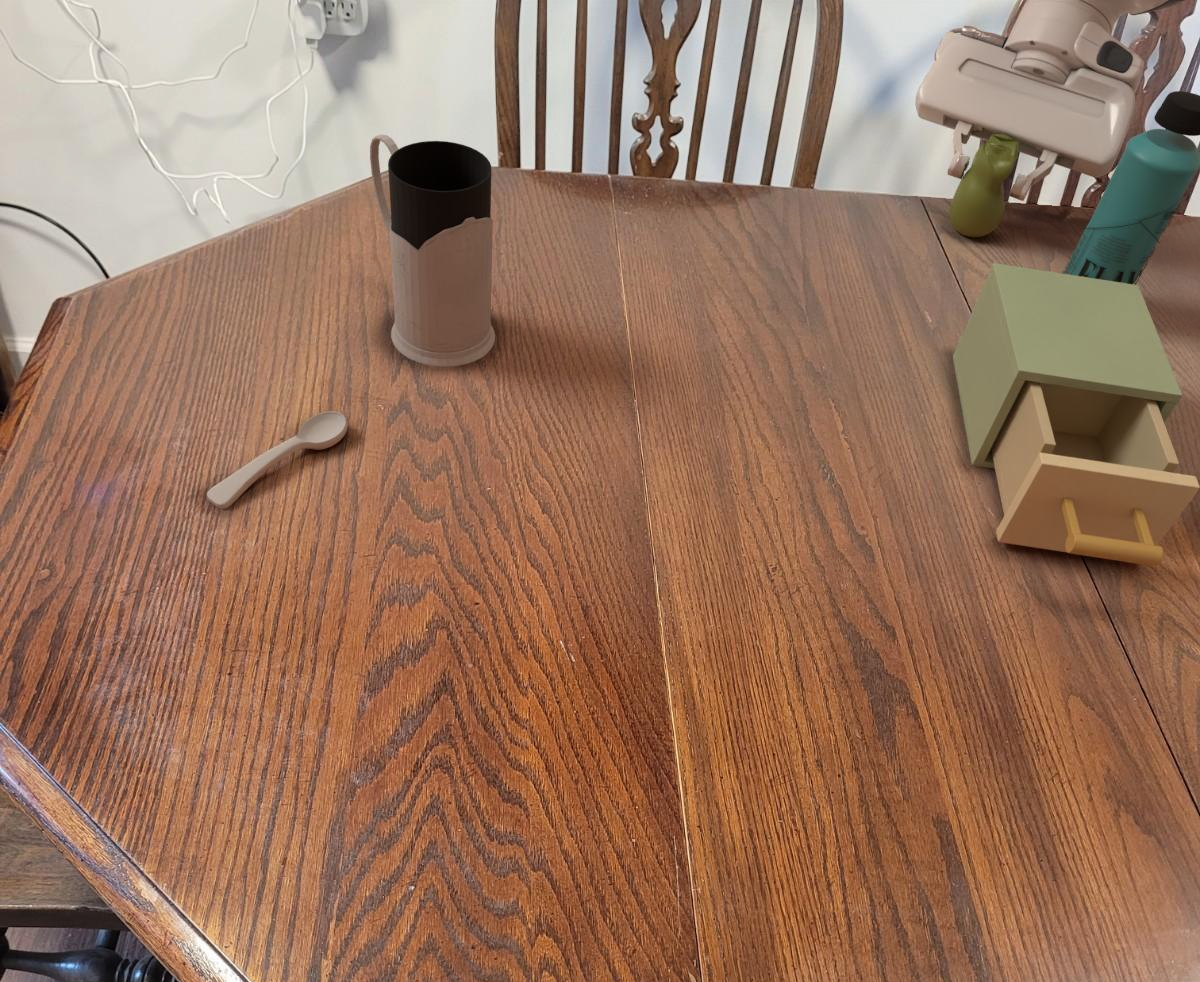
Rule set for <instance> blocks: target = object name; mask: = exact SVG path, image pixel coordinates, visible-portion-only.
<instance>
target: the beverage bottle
mask: <svg viewBox="0 0 1200 982" xmlns="http://www.w3.org/2000/svg"><path fill="white" fill-rule="evenodd" d="M1154 121H1155V122H1156V123H1157V125H1159V126H1160V127H1162V128H1153V129H1152V128H1151V129H1149V130H1146V131H1143V132H1141V133H1139V134H1136V135H1134V136H1133V137H1131V138H1129V139H1128V141H1127V143H1126V145H1125V149H1124V151H1123V153H1122V154H1121V157H1120V159H1119V161H1118V163H1117V165H1116V167H1115V169H1114V170H1113V173H1112V175H1111V177H1110V179H1109V181H1108V184H1107V185H1106V187H1105V189H1104V191H1103V193H1102V196H1101V197H1100V199H1099V201H1098V204H1097V206H1096V208H1095V210H1094V212H1093V214H1092V216H1091V218H1090V220H1089V222H1088V224H1087V225H1086V227H1085V228H1083V232H1082V234H1081V236H1080V237H1079V240H1078V242H1077V244H1076V245H1075V248H1074V250H1073V252H1072V254H1070V255H1069V257H1068V260H1067V261H1066V264H1065V266H1064V269H1062V271H1061V273H1062V274H1068V275H1075V276H1081V277H1088V278H1094V279H1101V280H1107V281H1114V282H1121V283H1127V284H1134V285H1137V283H1138V281H1139V280H1140V279H1141V276H1142V274H1143V272H1144V271H1145V269H1146V267H1147V265H1148V263H1149V261H1150V258H1151V257H1152V256H1153V255H1154V253H1155V252H1156V245H1157V244H1160V241H1159V240H1160V238H1163V237H1164V236H1163V234H1164V233H1165V231H1166V230H1167V227H1169V226H1170V225H1171V222H1172V220H1173V219H1174V217H1175V215H1176V213H1177V211H1178V210H1179V208H1180V206H1181V201H1182V199H1183V198H1184V197H1185V196H1186V195H1187V194H1188V192H1186V191H1187V189H1188V187H1189V185H1190V183H1191V182H1192V180H1193V178H1194V176H1195V175H1196V173H1197V172H1198V171H1199V169H1200V151H1199V149H1198V147H1197V145H1196V143H1195V142H1194V141H1193V140H1192V139H1191V138H1189V137H1197V136H1200V95H1199V94H1197V93H1193V92H1189V91H1181V90H1175V91H1171V92H1169V93H1168V94H1166V97H1165V98H1164V100H1163V101H1162V104H1161V105H1160V107H1159V108H1158V109H1157V111H1156V113H1155V114H1154ZM1188 136H1189V137H1188ZM1161 236H1162V237H1161Z"/></svg>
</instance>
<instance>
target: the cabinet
mask: <svg viewBox="0 0 1200 982" xmlns="http://www.w3.org/2000/svg"><path fill="white" fill-rule="evenodd" d="M952 361H953V366H954V371H955V377H956V383H957V389H958V394H959V400H960V406H961V411H962V417H963V423H964V428H965V433H966V438H967V445H968V451H969V457H970V462H971V466H974V467H980V468H986V469H987V468H988V469H993V470H995V466H994V461H993V456H992V451H991V447H992V445H993V443H994V441H995V439H996V437H997V435H998V433H999V431H1000V429H1001V427H1002V425H1003V423H1004V421H1005V419H1006V417H1007V415H1008V413H1009V411H1010V409H1011V407H1012V405H1013V404H1014V402H1015V400H1016V398H1017V396H1018V394H1019V392H1020V390H1021V388H1022V386H1023V384H1024V382H1025V380H1027V381H1034V382H1040V383H1047V384H1053V385H1060V386H1066V387H1073V388H1079V389H1086V390H1092V391H1099V392H1105V393H1112V394H1118V395H1125V396H1131V397H1138V398H1144V399H1151V400H1156V402H1157V405H1158V408H1159V410H1160V413H1161V416H1162V418H1163V421H1164V424H1165V423H1166V421H1167V420H1168V418H1169V417H1170V415H1171V414H1172V412H1173V411H1174V409H1175V408H1176V406H1177V405H1178V403H1179V402H1180V401H1181V399H1182V397H1183V393H1182V391H1181V388H1180V385H1179V383H1178V380H1177V378H1176V376H1175V373H1174V371H1173V367H1172V365H1171V363H1170V361H1169V358H1168V355H1167V353H1166V350H1165V348H1164V345H1163V343H1162V340H1161V338H1160V335H1159V332H1158V330H1157V327H1156V325H1155V323H1154V320H1153V318H1152V316H1151V313H1150V310H1149V308H1148V305H1147V303H1146V301H1145V298H1144V295H1143V293H1142V290H1141V288H1140V286H1139V284H1136V285H1135V283H1134V284H1127V283H1121V282H1114V281H1107V280H1101V279H1094V278H1088V277H1081V276H1075V275H1068V274H1063V272H1056V271H1055V272H1054V271H1047V270H1042V269H1035V268H1028V267H1022V266H1015V265H1009V264H1003V263H997V262H993V263H992V264H991V267H990V269H989V272H988V274H987V276H986V279H985V281H984V283H983V286H982V288H981V290H980V292H979V295H978V296H977V300H976V302H975V304H974V306H973V309H972V311H971V313H970V315H969V318H968V320H967V323H966V325H965V327H964V329H963V332H962V334H961V335H960V339H959V341H958V343H957V346H956V348H955V351H954V352H953V355H952Z"/></svg>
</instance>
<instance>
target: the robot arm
mask: <svg viewBox="0 0 1200 982" xmlns="http://www.w3.org/2000/svg"><path fill="white" fill-rule="evenodd" d="M1185 1H1186V0H1025V2H1024V5H1022V6H1023V7H1022V8H1021V10H1020V12H1019V15H1018V17H1017V18H1016V20H1015V22H1014V24H1013V27H1012V28H1011V31H1010V32H1009V35H1008V36H1007V37H1006V36H1004V35H1000V34H997V33H993V32H989V31H984V30H980V29H978V28H977V27H975V26H972V25H964V26H962V28H961V27H958V28H953V29H951V30H949V31H947V32H946V33H945V34H944V35H943V36H942V38H941V39H940V42H939V44H938V45H937V48H936V50H935V52H934V62H933V64H932V65H931V67H930V68H929V70H928V71H927V73H926V75H925V76H924V78H923V80H922V81H921V83H920V85H919V87H918V89H917V91H916V94H915V100H914V103H915V104H914V105H915V110H916V114H917V116H918V118H919V119H921V120H924V121H927V122H930V123H933V124H935V125H939V126H941V127H945V128H948V129H950V130H953V134H952V135H953V136H952V146H953V156H952V157H953V158H952V160H951V161H950V163H949V166H948V169H947V173H946V174H947V175H948V176H950V177H954V178H957V179H958V180H962V178H963V176H964V175H965V171H966V172H967V170H968V168H969V165H970V159H971V156H969V155H966V154H964V153H963V145H967V144H968V141H969V140H970V138H971V137H974V138H977V139H979V140H982V141H986V142H988V140H989V139H990V137H991V136H992V135H993V134H1005V135H1007V136H1008V137H1010V138H1011V139H1013V141H1018V148H1019V150H1018V153H1021V154H1024V155H1027V156H1030V157H1033V158H1036V159H1038V163H1037V167H1036V168H1035V169H1034V170H1032V172H1030V173H1028V175H1025V174H1022V173H1018V174H1017V177H1016V178H1015V181H1014V183H1013V184H1012V186H1011V189H1010V191H1009V195H1008V196H1009V197H1011V198H1014V199H1015V200H1018V201H1021V202H1024V201H1025V199H1026V197H1027V195H1028V194H1029V191H1030V189H1031V188H1032V187H1033V186H1035V185H1037V183H1039V182H1041V181H1042V180H1043V179H1045V178H1046V177H1047V176H1049V175H1050V174H1051V172H1052V170H1053V168H1054V166H1055V165H1057V166H1060V167H1063V168H1066V169H1068V170H1071V171H1075V172H1077V173H1080V174H1084V175H1086V176H1088V177H1092V178H1095V179H1099V178H1101V177H1103V176H1105V175H1107V174H1108V173H1110V172H1111V171H1112V169H1113V167H1114V165H1115V163H1116V161H1117V158H1118V156H1119V154H1120V152H1121V150H1122V146H1123V144H1124V141H1125V139H1126V137H1127V134H1128V131H1129V129H1130V125H1131V123H1132V119H1133V117H1134V112H1135V108H1136V95H1135V93H1136V92H1137V90H1138V88H1139V85H1140V84H1141V82H1142V81H1141V80H1142V77H1143V74H1144V68H1145V61H1144V59H1143V58H1142V57H1141V56H1140V55H1138V54H1137V53H1136V52H1135V51H1133V50H1132V49H1130V48H1129V47H1127V46H1126V45H1124V44H1123V43H1122V42H1121V41H1119V40H1118V39H1117V38H1116V37H1114V36H1113V35H1112V33H1113V30H1114V27H1115V24H1116V23H1117V22H1118V19H1120V18H1121V17H1122V16H1123V15H1125V14H1129V15H1130V16H1138V15H1144V14H1147V13H1151V12H1152V13H1153V12H1156V11H1159V10H1163V9H1166V8H1170V7H1173V6H1175V5H1178V4H1180V3H1183V2H1185Z"/></svg>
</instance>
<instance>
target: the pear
mask: <svg viewBox="0 0 1200 982" xmlns="http://www.w3.org/2000/svg"><path fill="white" fill-rule="evenodd" d="M1018 150H1019V148H1018V141H1013V139H1011V138H1010V137H1008V136H1007V135H1005V134H993V135H992V136H991V137H990V139H989V140H988V141H986V142H984V143H983V144H982V145H981V146H980V148H978V149H977V151H976V153H975V154H974V156H973V159H972V162H971V165H970V167H969V169H967V170H966V172H964V175H963V177H962V179H960V182H958V183H959V184H958V186H957V188H956V190H955V192H954V195H953V196H952V199H951V202H950V206H949V210H948V215H949V216H948V218H949V221H950V224H951V226H952V227H953V229H954V230H955V231H956V232H957V233H958V234H961V235H962V236H965V237H968V238H981V237H985V236H987V235H989V234H991V233H992V232H993V231H994V230H995V229H997V227H998V226H999V225H1000V223H1001V222H1002V220H1003V217H1004V215H1005V210H1006V209H1005V206H1006V205H1005V190H1004V182H1005V181H1006V180H1007V179H1008V178H1009V176H1010V175H1011V173H1012V172H1013V170H1014V167H1015V166H1016V163H1017V160H1018V157H1019V152H1018Z"/></svg>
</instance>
